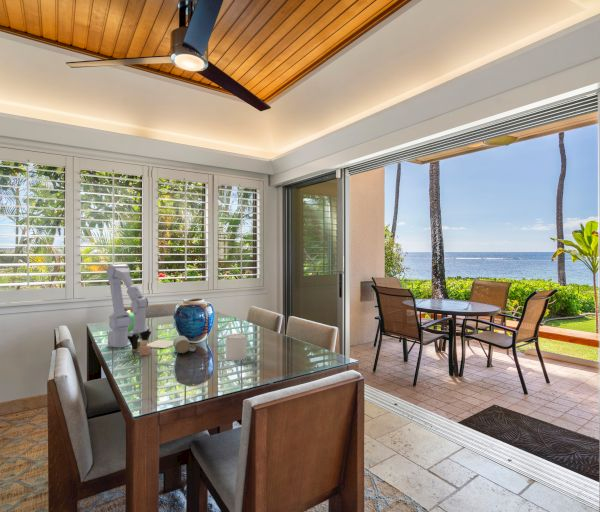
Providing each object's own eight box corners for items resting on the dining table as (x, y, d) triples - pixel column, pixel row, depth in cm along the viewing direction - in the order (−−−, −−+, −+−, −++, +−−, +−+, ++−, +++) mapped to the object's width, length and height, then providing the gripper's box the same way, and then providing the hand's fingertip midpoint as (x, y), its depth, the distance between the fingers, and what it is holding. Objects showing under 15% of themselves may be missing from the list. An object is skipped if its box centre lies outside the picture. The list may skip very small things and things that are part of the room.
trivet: (142, 347, 194) (142, 345, 194) (158, 340, 208) (158, 339, 208) (165, 348, 191) (165, 347, 191) (180, 342, 205) (180, 341, 205)
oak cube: (131, 351, 186) (132, 341, 186) (138, 348, 191) (138, 339, 191) (140, 352, 185) (140, 342, 185) (146, 349, 190) (146, 340, 190)
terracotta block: (139, 356, 178) (139, 347, 178) (142, 353, 182) (142, 345, 182) (147, 355, 178) (148, 347, 178) (150, 353, 182) (150, 345, 182)
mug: (224, 353, 184) (224, 332, 183) (245, 352, 186) (245, 331, 186) (226, 361, 170) (226, 338, 170) (247, 360, 173) (248, 337, 173)
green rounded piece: (142, 330, 234) (142, 308, 234) (146, 336, 220) (146, 311, 220) (110, 333, 225) (110, 310, 225) (112, 339, 211) (112, 314, 211)
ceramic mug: (175, 355, 180) (175, 339, 180) (172, 350, 187) (173, 336, 187) (197, 352, 185) (197, 337, 185) (193, 349, 192) (194, 334, 192)
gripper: (136, 323, 180) (136, 351, 180) (155, 318, 194) (155, 344, 194) (124, 323, 182) (124, 350, 182) (143, 318, 196) (143, 343, 196)
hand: (139, 347), depth 188 cm, fingers open, 7 cm apart
